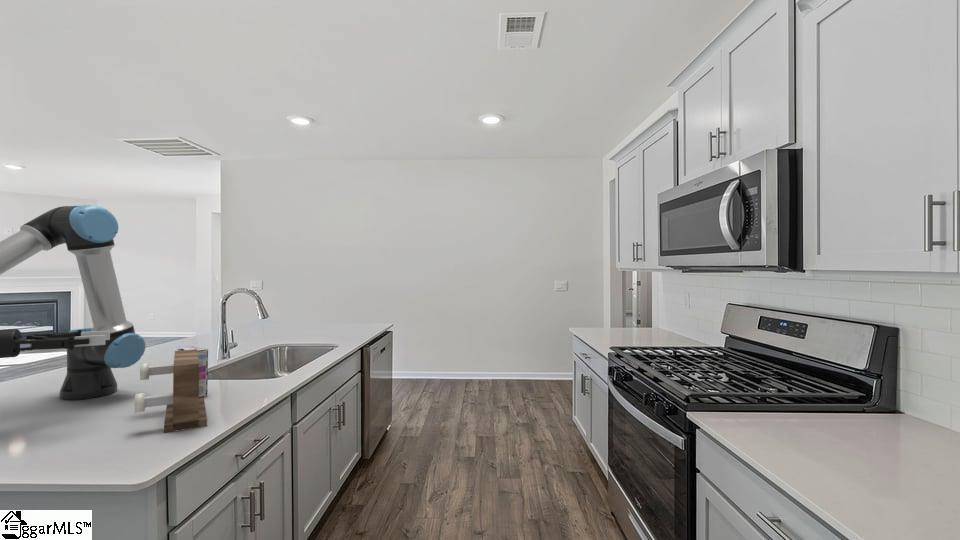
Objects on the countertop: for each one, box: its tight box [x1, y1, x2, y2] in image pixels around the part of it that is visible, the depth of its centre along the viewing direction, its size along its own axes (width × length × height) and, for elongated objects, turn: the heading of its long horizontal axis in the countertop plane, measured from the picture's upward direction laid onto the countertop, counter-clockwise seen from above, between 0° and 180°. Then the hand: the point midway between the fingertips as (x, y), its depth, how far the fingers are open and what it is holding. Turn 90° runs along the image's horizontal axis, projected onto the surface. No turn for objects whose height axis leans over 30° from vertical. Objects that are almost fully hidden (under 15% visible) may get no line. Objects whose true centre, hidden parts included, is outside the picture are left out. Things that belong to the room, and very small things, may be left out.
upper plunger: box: [139, 362, 174, 381], centre depth 140 cm, size 5×12×5 cm, turn 123°
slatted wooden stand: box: [163, 349, 208, 433], centre depth 135 cm, size 24×10×18 cm, turn 33°
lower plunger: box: [134, 392, 173, 414], centre depth 125 cm, size 5×12×5 cm, turn 123°
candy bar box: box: [177, 346, 209, 398], centre depth 156 cm, size 11×5×16 cm, turn 58°
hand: (107, 337), depth 132 cm, fingers open, 9 cm apart
